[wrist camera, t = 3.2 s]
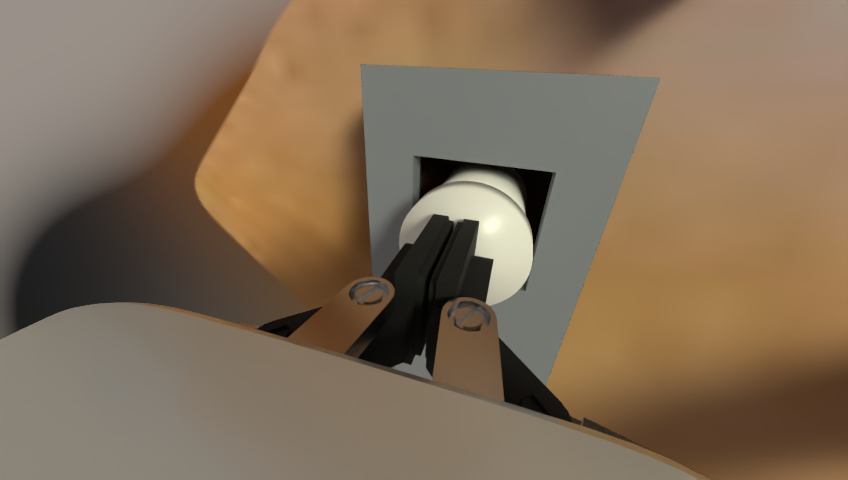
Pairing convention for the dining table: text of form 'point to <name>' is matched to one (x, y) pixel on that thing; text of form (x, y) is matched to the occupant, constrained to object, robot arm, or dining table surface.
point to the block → (512, 147)
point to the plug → (483, 220)
